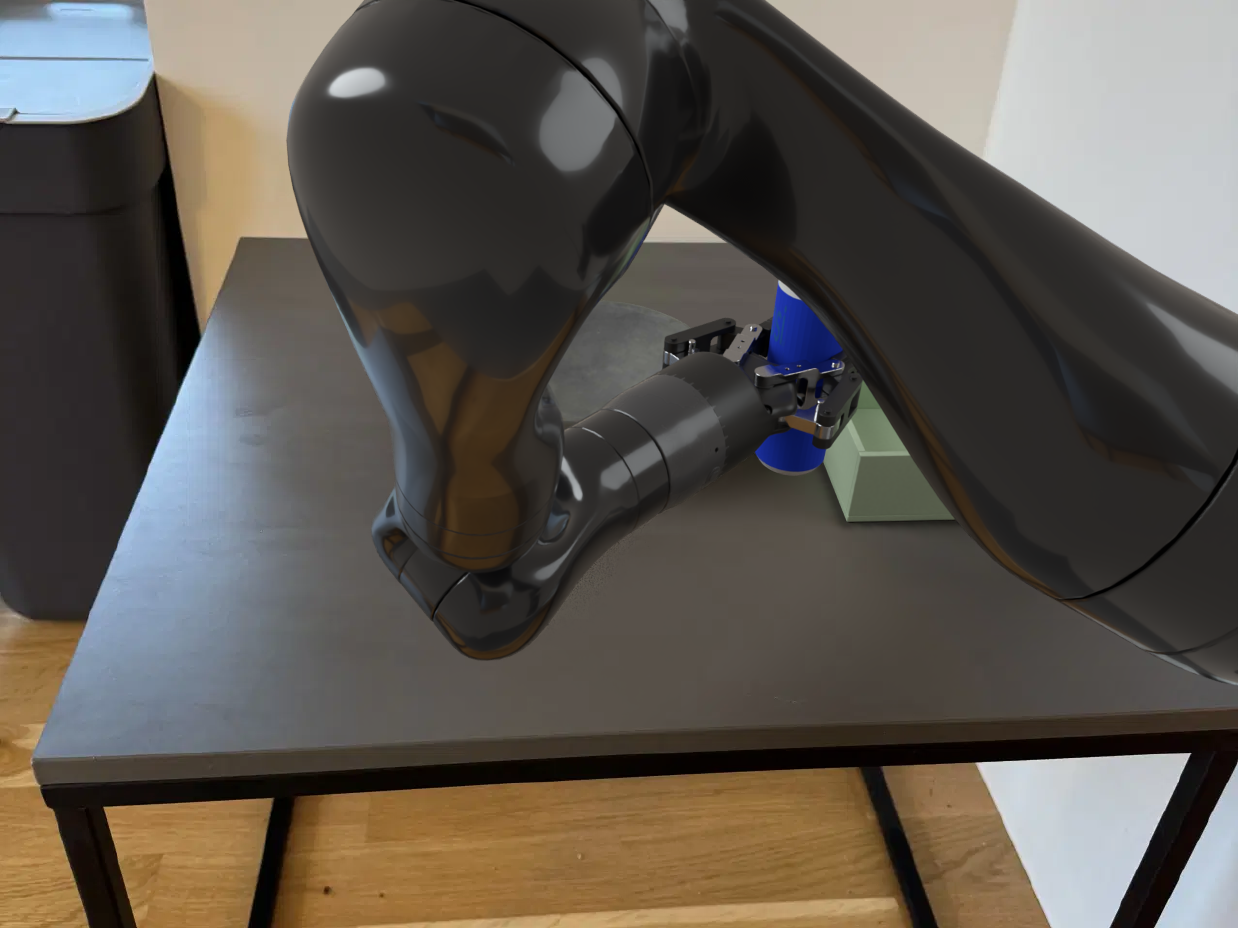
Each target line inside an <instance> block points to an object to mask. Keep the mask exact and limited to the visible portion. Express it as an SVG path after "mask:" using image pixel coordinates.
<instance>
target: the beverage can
mask: <svg viewBox="0 0 1238 928" xmlns="http://www.w3.org/2000/svg"><path fill="white" fill-rule="evenodd" d="M773 308H774V309H773V315H772V317H773V321H772V328H771V335H770V342H769V348H768V355H767V357H766V360H768V361H769V362H771V363H774V364H778V365H784V364H788V363H792V362H796V361H801V360H807V361H809V362H810V363H811V364H815V363H819V362H823V361H827V360H831V357H832V356H834V355H836V354H838V353H839V352H841V351H842V348H841V347H840V345H839V344H838V342H837V341H836V339H835V338H834V337H833V335H832V334H831V333H830V332H829V331H828V329H827V328H826V327H825V326H824V324H823V323H822V322H821V321H820V320H819V318H818V317H817V316H816V315H815V313H814V312H813V311H812V310H811V309H810V308H809V307H808V306H807V305H806V304H805V303H804V302H803V301H802V300H801V299H800V298H799V297H798V296H797V295H795V294H794V293H793V292H792V291H791V290H790V289H789V288H788V287H787V286H786V285H785V284H783V283H782V282H781V281H780V280H777V288H776V294H775V301H774V307H773ZM823 379H824V378H823ZM823 379H820V380H819V381H818V382H817V385H816V387H819V386H822V385H823ZM796 381H797V379H796ZM815 406H816V405H815ZM812 440H813V435H812V434H809V433H806V432H803V431H800V430H797V429H794V428H791V429H790V430H789V431H787V432H785V433H780V434H774V435H771V436H769V437H768V438H767V439H766V440H765V441H764V442H763V443H762V445H761V446H760V447H759V448H758V449H757V450H756V451H755V452H754V454H755V455H756V457H757V458H758V460H759V461H760V463H761V464H762V465H763V466H764V467H765V468H767V469H768V470H771V471H772V472H774V473H777V474H780V475H784V476H795V477H796V476H803V475H806V474H809V473H811V472H813V471H814V470H816V469H817V468H819V467H820V466H821V465H822V463H824V462H823V460H824V457H825V452H826V449H818V448H816V447H814V446H813V444H812Z"/></svg>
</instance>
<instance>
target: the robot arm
mask: <svg viewBox="0 0 1238 928" xmlns="http://www.w3.org/2000/svg"><path fill="white" fill-rule="evenodd" d="M288 114H289V115H288V120H287V121H288V122H287V129H286V130H287V132H286V140H285V141H286V152H287V153H286V154H287V163H288V164H287V166H288V171H289V176H290V183H291V186H292V192H293V195H294V199H295V202H296V206H297V209H298V213H299V217H300V220H301V223H302V225H303V228H304V231H305V234H306V238H307V240H308V242H309V245H310V247H311V250H312V253H313V255H314V258H315V260H316V262H317V265H318V268H319V270H320V272H321V274H322V277H323V278H324V281H325V283H326V286H327V288H328V290H329V292H330V295H331V297H332V299H333V301H334V304H335V306H336V308H337V311H338V312H339V315H340V317H341V321H342V322H343V325H344V326H345V329H346V331H347V333H348V336H349V339H350V341H351V343H352V346H353V349H354V351H355V353H356V356H357V357H358V360H359V362H360V364H361V366H362V369H363V370H364V373H365V374H366V376H367V378H368V380H369V381H370V384H371V386H372V389H373V391H374V393H375V395H376V398H377V400H378V402H379V405H380V407H381V409H382V412H383V414H384V416H385V418H386V422H387V424H388V425H387V426H388V429H389V435H390V442H391V451H392V466H393V476H394V478H393V479H394V485H393V487H392V489H391V490H390V492H389V494H388V496H386V498H385V500H383V502H382V503H381V505H380V506H379V508H377V511H376V513H375V515H374V516H373V519H372V521H371V525H370V535H371V539H372V543H373V545H374V548H375V551H376V553H377V554H378V556H379V558H380V559H381V562H382V563H383V564H384V565H385V567H386V569H387V570H388V571H389V572H390V573H391V575H392V576H393V577H394V579H396V581H397V582H398V583H399V584H400V585H401V586H402V587H403V589H404V590H405V591H406V592H407V593H408V595H409V596H410V597H411V598H412V599H413V601H414V602H415V604H417V606H418V607H419V608H420V609H421V611H422V612H423V613H424V614H425V615H426V617H427V618H428V619H429V621H431V622H432V623H433V625H434V626H435V628H436V629H437V630H438V631H439V632H440V634H441V635H442V636H443V638H445V640H447V642H448V643H449V644H450V645H451V647H452V648H453V649H455V650H456V651H457V652H458V653H459V654H460V655H462V656H464V657H466V658H468V659H471V660H475V661H481V662H483V661H484V662H485V661H486V662H490V661H499V660H502V659H507V658H510V657H512V656H514V655H516V654H518V653H520V652H522V651H523V650H525V649H527V647H529V646H530V645H531V644H532V643H533V642H534V641H535V640H536V639H537V638H538V637H539V636H540V635H541V634H542V633H543V631H544V630H545V629H546V627H548V625H549V624H550V622H552V620H553V619H554V617H555V615H556V614H558V611H559V610H560V609H561V607H562V606H563V604H564V603H565V601H566V600H567V599H568V597H569V596H570V594H571V593H572V592H573V590H574V589H575V587H576V586H577V584H579V582H581V580H582V578H583V577H584V576H585V575H586V573H588V571H589V570H590V569H591V567H593V565H594V564H595V563H596V562H597V561H598V560H599V559H601V558H602V557H603V555H605V554H606V553H607V552H608V551H609V550H610V549H612V547H614V545H616V544H617V543H619V542H620V541H621V540H623V539H625V537H627V536H629V535H630V534H632V533H633V532H635V531H637V529H639V528H640V527H641V526H643V525H644V524H646V523H648V522H649V521H651V520H652V519H653V518H655V517H657V516H658V515H659V514H661V513H663V512H665V511H666V510H669V509H672V508H674V507H676V506H678V505H680V504H682V503H684V502H685V501H688V500H689V499H690V498H691V497H694V496H695V495H696V494H698V493H699V492H700V491H702V490H703V489H705V488H706V487H707V486H709V485H711V484H712V483H714V482H715V481H717V480H718V479H719V478H721V477H723V476H724V475H725V474H727V473H728V472H729V471H731V470H733V469H734V468H735V467H737V466H738V465H740V464H741V463H743V462H744V461H746V460H747V459H749V458H750V457H751V456H752V455H754V454H755V451H756V450H757V449H758V448H759V447H760V446H761V445H762V443H763V442H764V441H765V440H766V439H767V438H768V437H769V436H771V435H774V434H780V433H785V432H787V431H789V430H790V429H791V428H794V429H797V430H800V431H803V432H806V433H809V434H812V435H813V440H812V444H813V446H814V447H816V448H818V449H828V448H830V447H831V446H832V444H833V443H834V442H835V440H836V439H837V437H838V436H839V435H840V433H841V432H842V431H843V429H844V428H845V426H846V425H847V424H848V422H849V421H850V420H851V418H852V417H853V415H854V414H855V413H856V411H857V406H858V401H859V396H860V392H861V387H862V382H863V381H864V382H865V384H866V386H867V387H868V389H869V390H870V392H871V393H872V395H873V397H874V398H875V400H876V401H877V403H878V404H879V406H880V408H881V409H882V411H883V412H884V414H885V416H886V417H887V419H888V421H889V422H890V424H891V426H892V427H893V429H894V430H895V432H896V434H897V435H898V437H899V438H900V440H901V442H902V443H903V445H904V446H905V448H906V450H907V451H908V453H909V454H910V456H911V458H912V459H913V461H914V462H915V464H916V465H917V467H918V468H919V470H920V471H921V473H922V474H923V476H924V477H925V478H926V480H927V481H928V483H929V484H930V486H931V487H932V489H933V490H934V492H935V493H936V495H937V496H938V498H939V499H940V500H941V502H942V503H943V504H944V506H945V507H946V508H947V510H948V511H949V512H950V514H951V515H952V516H953V517H954V519H955V521H956V522H957V524H959V526H960V527H961V528H962V530H963V531H964V532H965V533H966V534H967V536H969V537H970V539H972V540H973V542H974V543H976V544H977V545H978V546H979V547H980V549H982V550H983V551H984V552H985V553H986V554H987V555H988V556H989V557H990V558H991V559H992V560H993V561H994V562H995V563H997V565H999V566H1000V567H1002V568H1003V569H1004V570H1005V571H1007V572H1008V573H1009V574H1011V575H1012V576H1014V577H1015V578H1017V579H1019V580H1020V581H1021V582H1023V583H1024V584H1026V585H1027V586H1029V587H1031V588H1033V589H1035V590H1036V591H1038V592H1040V593H1041V594H1043V595H1045V596H1047V597H1049V598H1051V599H1053V600H1054V601H1056V602H1058V603H1060V604H1061V605H1063V606H1065V607H1067V608H1068V609H1070V610H1072V611H1074V612H1076V614H1079V615H1080V616H1082V617H1085V618H1086V619H1088V620H1090V621H1091V622H1093V623H1095V624H1097V625H1098V626H1099V627H1100V626H1101V627H1102V628H1104V629H1105V630H1107V631H1109V632H1111V633H1112V634H1114V635H1116V636H1118V637H1119V638H1121V639H1123V640H1125V641H1127V642H1129V643H1130V644H1132V645H1134V646H1135V647H1136V648H1138V649H1140V650H1141V651H1144V652H1145V653H1147V654H1149V655H1152V656H1153V657H1155V658H1157V659H1159V660H1161V661H1163V662H1165V663H1167V664H1170V665H1172V666H1174V667H1175V668H1178V669H1180V670H1183V671H1186V672H1188V673H1190V674H1192V675H1196V676H1199V677H1202V678H1206V679H1208V680H1211V681H1215V682H1218V683H1223V684H1226V685H1231V686H1237V687H1238V313H1236V312H1235V311H1232V310H1231V309H1230V308H1227V307H1225V306H1224V305H1222V304H1219V303H1218V302H1216V301H1214V300H1212V299H1211V298H1208V297H1207V296H1205V295H1203V294H1201V293H1199V292H1197V291H1196V290H1194V289H1192V288H1189V287H1188V286H1186V285H1185V284H1183V283H1181V282H1180V281H1179V282H1178V281H1177V280H1175V279H1174V278H1172V277H1170V276H1168V275H1166V274H1165V273H1162V272H1161V271H1159V270H1158V269H1156V268H1154V267H1152V266H1150V265H1149V264H1146V263H1145V262H1144V261H1142V260H1141V259H1139V258H1137V257H1136V256H1134V255H1133V254H1131V253H1130V252H1128V251H1127V250H1125V249H1123V248H1121V247H1120V246H1118V245H1117V244H1115V243H1114V242H1112V241H1111V240H1109V239H1108V238H1106V237H1105V236H1103V235H1102V234H1100V233H1098V232H1097V231H1095V230H1093V229H1092V228H1090V227H1089V226H1087V225H1085V224H1084V223H1083V222H1081V221H1080V220H1078V219H1076V218H1075V217H1073V216H1072V215H1070V214H1069V213H1067V212H1066V211H1065V210H1063V209H1061V208H1059V207H1058V206H1056V205H1055V204H1054V203H1052V202H1050V201H1048V200H1047V199H1045V198H1044V197H1042V196H1041V195H1039V194H1038V193H1037V192H1035V191H1033V190H1031V189H1030V188H1028V187H1027V186H1025V185H1024V184H1022V183H1021V182H1019V181H1018V180H1016V179H1015V178H1014V177H1012V176H1010V175H1008V174H1007V173H1005V172H1004V171H1002V170H1000V169H999V168H998V167H996V166H994V165H992V164H991V163H989V162H988V161H986V160H985V159H983V158H981V157H980V156H978V155H977V154H975V153H974V152H972V151H971V150H969V149H968V148H967V147H964V146H963V145H962V144H960V143H958V142H957V141H955V140H954V139H952V138H950V137H949V136H947V135H946V134H944V133H943V132H941V131H940V130H938V128H936V127H934V126H933V125H931V124H930V123H929V122H927V120H924V119H923V118H922V117H921V116H919V115H918V114H916V113H915V112H914V111H912V110H911V109H909V108H908V107H906V106H905V105H904V104H902V103H901V102H899V100H897V99H896V98H894V97H893V96H891V94H889V93H888V92H886V90H883V89H882V88H881V87H880V86H879V85H877V84H876V83H874V82H873V81H871V79H869V78H868V77H866V76H865V75H864V74H862V73H861V72H860V71H858V69H856V68H855V67H853V66H852V65H851V64H849V63H848V62H847V61H846V60H844V59H843V58H841V57H840V56H839V55H838V54H836V53H835V52H834V51H832V50H831V49H830V48H829V47H827V46H826V45H824V43H822V42H821V41H820V40H818V39H817V38H816V37H814V36H813V35H811V33H809V32H808V31H806V30H805V29H804V28H803V27H801V26H800V25H798V24H797V23H796V22H795V21H793V19H791V18H789V17H788V16H787V15H786V14H784V13H783V12H782V11H780V10H779V9H778V8H776V7H775V6H774V5H772V4H771V3H770V2H769V1H767V0H363V1H362V2H361V3H360V4H359V5H358V6H357V8H356V9H355V10H354V12H353V13H352V14H351V15H350V16H349V18H347V20H345V21H344V23H342V25H341V26H340V27H339V28H338V29H337V31H336V32H335V33H334V35H333V36H332V37H331V39H330V40H329V41H328V42H327V44H326V45H325V46H324V48H323V49H322V51H321V52H320V53H319V55H318V56H317V58H316V59H315V60H314V62H313V64H312V65H311V67H310V68H309V70H308V72H307V73H306V74H305V76H304V78H303V80H302V81H301V84H300V85H299V88H298V90H297V91H296V93H295V96H294V98H293V101H292V103H291V106H290V109H289V113H288ZM664 206H667V207H668V208H670V209H673V210H674V211H676V212H678V213H679V214H681V215H683V216H684V217H685V218H688V219H689V220H691V221H693V222H694V223H696V224H698V225H699V226H701V227H703V228H705V229H706V230H707V231H709V232H710V233H712V234H713V235H715V236H716V237H718V238H719V239H721V240H722V241H723V242H725V243H726V244H728V245H729V246H731V247H732V248H734V249H736V251H738V252H740V253H741V254H743V255H744V256H746V257H747V258H749V259H750V260H752V262H754V263H756V264H758V265H759V266H761V267H762V268H764V269H765V270H766V271H767V272H768V273H769V274H770V275H772V276H773V277H774V278H775V279H777V281H779V280H780V281H781V282H782V283H783V284H785V285H786V286H787V287H788V288H789V289H790V290H791V291H792V292H793V293H794V294H795V295H797V296H798V297H799V298H800V299H801V300H802V301H803V302H804V303H805V304H806V305H807V306H808V307H809V308H810V309H811V310H812V311H813V312H814V313H815V315H816V316H817V317H818V318H819V320H820V321H821V322H822V323H823V324H824V326H825V327H826V328H827V329H828V331H829V332H830V333H831V334H832V335H833V337H834V338H835V339H836V341H837V342H838V344H839V345H840V347H841V348H842V351H841V352H839V353H838V354H836V355H834V356H832V357H831V360H827V361H823V362H819V363H815V364H811V363H810V362H809V361H807V360H801V361H796V362H792V363H788V364H784V365H778V364H774V363H771V362H769V361H768V360H767V355H768V348H769V342H770V335H771V328H772V321H773V316H771V317H770V318H767V319H766V320H765V321H762V322H761V323H759V324H757V323H748V324H745V326H744V327H741V326H737V321H736V319H734V318H731V317H722V318H719V319H715V320H713V321H710V322H706V323H703V324H700V325H697V326H693V327H691V328H690V329H687V330H684V331H681V332H678V333H675V334H671V335H668V336H666V337H665V340H664V348H663V365H662V370H661V371H659V372H657V373H655V374H653V375H652V376H650V377H648V378H646V379H645V380H643V381H641V382H639V383H637V384H636V385H634V386H632V387H630V388H628V389H627V390H625V391H623V392H621V393H620V394H618V395H617V396H615V397H614V398H612V399H611V400H610V401H609V402H607V403H606V404H605V405H604V406H603V407H601V408H600V409H599V410H597V411H596V412H594V413H593V414H591V415H589V416H587V417H585V418H584V419H582V420H580V421H578V422H577V423H575V424H573V425H571V426H569V427H568V428H566V429H564V422H563V417H562V413H561V410H560V406H559V403H558V400H557V398H556V396H555V395H554V393H553V391H552V389H551V387H550V385H549V384H548V383H549V381H550V379H551V377H552V376H553V374H554V372H555V370H556V369H557V367H558V365H559V363H560V362H561V360H562V358H563V356H564V355H565V353H566V351H567V350H568V348H569V346H570V345H571V343H572V341H573V339H574V338H575V336H576V334H577V333H578V331H579V330H580V328H581V327H582V325H583V323H584V322H585V321H586V319H587V318H588V316H589V315H590V313H591V312H592V311H593V309H594V308H595V307H596V305H597V304H598V303H599V301H600V300H603V298H604V297H605V296H606V295H607V294H608V292H609V291H610V290H611V289H613V287H615V285H616V284H617V283H618V281H620V280H621V278H622V277H623V276H624V275H625V273H626V272H627V271H628V270H629V268H630V266H631V265H632V263H633V262H634V260H635V258H636V256H637V254H638V253H639V251H640V249H641V247H642V246H643V243H644V242H645V240H646V239H647V236H648V235H649V233H650V232H651V229H652V228H653V226H654V224H655V223H656V221H657V219H658V217H659V215H660V214H661V212H662V210H663V208H664ZM716 337H717V339H716V343H715V344H712V340H713V339H714V338H716ZM711 344H712V345H711ZM823 378H824V379H823ZM796 379H797V381H796ZM820 379H823V385H822V386H819V387H816V385H817V382H818V381H819V380H820ZM815 405H816V406H815Z"/></svg>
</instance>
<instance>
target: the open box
mask: <svg viewBox="0 0 1238 928" xmlns="http://www.w3.org/2000/svg"><path fill="white" fill-rule="evenodd" d="M822 463H823V465H824V467H825V470H826V472H827V475H828V478H829V480H830V482H831V485H832V488H833V490H834V493H835V495H836V498H837V501H838V503H839V505H840V508H841V511H842V513H843V516H844V518H845V520H846V522H847V523H852V522H854V523H856V522H857V523H859V522H898V521H899V522H900V521H904V522H905V521H948V520H949V521H952V520H955V519H954V517H953V516H952V515H951V514H950V512H949V511H948V510H947V508H946V507H945V506H944V504H943V503H942V502H941V500H940V499H939V498H938V496H937V495H936V493H935V492H934V490H933V489H932V487H931V486H930V484H929V483H928V481H927V480H926V478H925V477H924V476H923V474H922V473H921V471H920V470H919V468H918V467H917V465H916V464H915V462H914V461H913V459H912V458H911V456H910V454H909V453H908V451H907V450H906V448H905V446H904V445H903V443H902V442H901V440H900V438H899V437H898V435H897V434H896V432H895V430H894V429H893V427H892V426H891V424H890V422H889V421H888V419H887V417H886V416H885V414H884V412H883V411H882V409H881V408H880V406H879V404H878V403H877V401H876V400H875V398H874V397H873V395H872V393H871V392H870V390H869V389H868V387H867V386H866V384H865V382H864V381H863V382H862V387H861V392H860V396H859V401H858V406H857V411H856V413H855V414H854V415H853V417H852V418H851V420H850V421H849V422H848V424H847V425H846V426H845V428H844V429H843V431H842V432H841V433H840V435H839V436H838V437H837V439H836V440H835V442H834V443H833V444H832V446H831V447H830V448H828V449H826V452H825V457H824V460H823V462H822ZM955 521H956V520H955Z"/></svg>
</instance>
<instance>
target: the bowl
mask: <svg viewBox="0 0 1238 928" xmlns="http://www.w3.org/2000/svg"><path fill="white" fill-rule="evenodd" d="M690 328H692V327H691V326H689V324H687V323H685V322H684V321H681V320H680V319H677V318H676V317H674V316H671V315H670V314H667V313H664V312H661V311H659V310H656V309H653V308H650V307H648V306H643V305H640V304H634V303H629V302H623V301H614V300H604V299H601V300H600V301H599V303H598V304H597V305H596V307H595V308H594V309H593V311H592V312H591V313H590V315H589V316H588V318H587V319H586V321H585V322H584V323H583V325H582V327H581V328H580V330H579V331H578V333H577V334H576V336H575V338H574V339H573V341H572V343H571V345H570V346H569V348H568V350H567V351H566V353H565V355H564V356H563V358H562V360H561V362H560V363H559V365H558V367H557V369H556V370H555V372H554V374H553V376H552V377H551V379H550V381H549V383H548V384H549V385H550V387H551V389H552V391H553V393H554V395H555V396H556V398H557V400H558V403H559V406H560V410H561V413H562V417H563V422H564V429H566V428H568V427H569V426H571V425H573V424H575V423H577V422H578V421H580V420H582V419H584V418H585V417H587V416H589V415H591V414H593V413H594V412H596V411H597V410H599V409H600V408H601V407H603V406H604V405H605V404H606V403H607V402H609V401H610V400H611V399H612V398H614V397H615V396H617V395H618V394H620V393H621V392H623V391H625V390H627V389H628V388H630V387H632V386H634V385H636V384H637V383H639V382H641V381H643V380H645V379H646V378H648V377H650V376H652V375H653V374H655V373H657V372H659V371H661V370H662V365H663V348H664V340H665V337H666V336H668V335H671V334H675V333H678V332H681V331H684V330H687V329H690Z"/></svg>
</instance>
